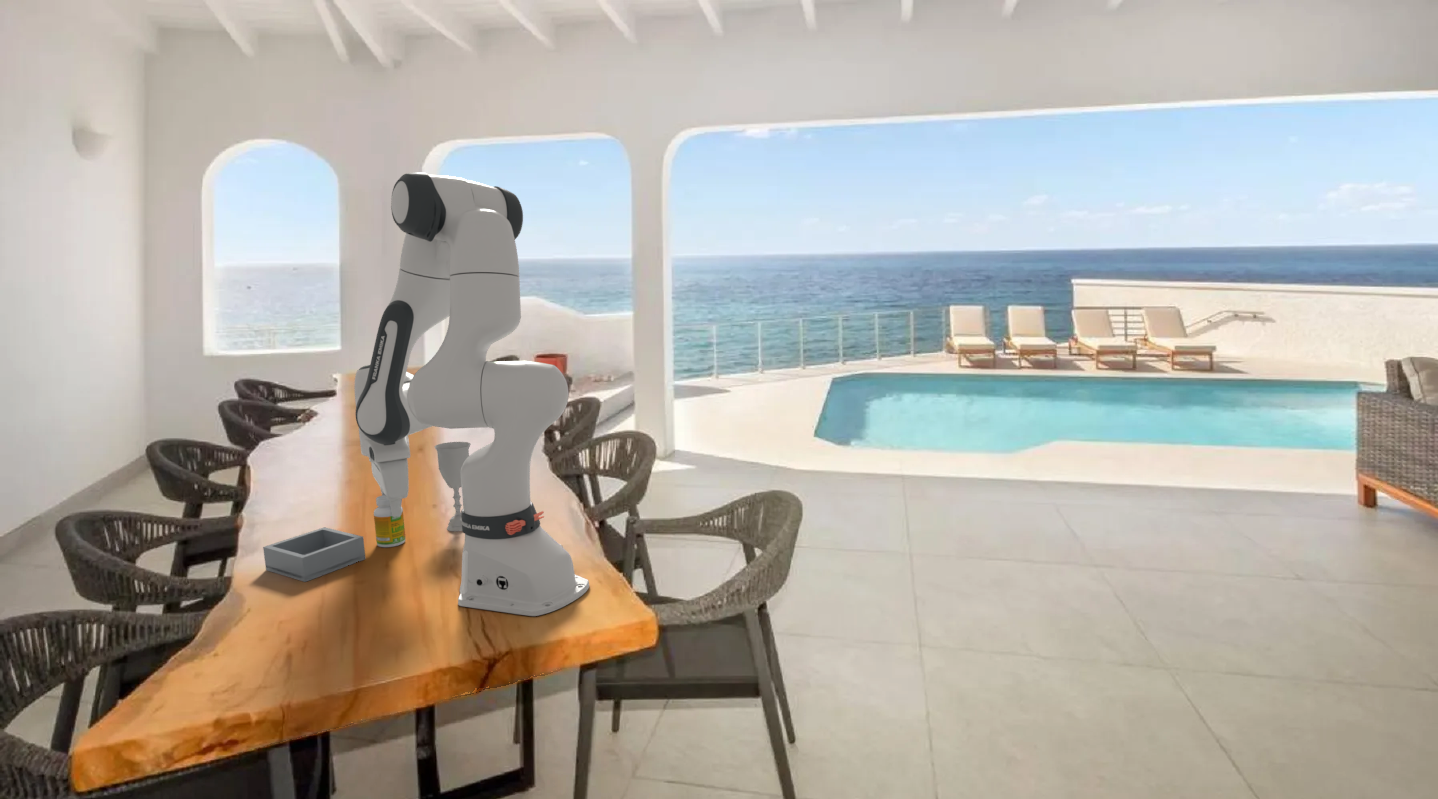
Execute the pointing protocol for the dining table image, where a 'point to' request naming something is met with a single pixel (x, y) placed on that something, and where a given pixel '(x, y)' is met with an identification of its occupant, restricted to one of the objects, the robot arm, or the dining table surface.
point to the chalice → (453, 474)
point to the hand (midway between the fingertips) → (392, 508)
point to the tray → (314, 553)
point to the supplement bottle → (388, 524)
